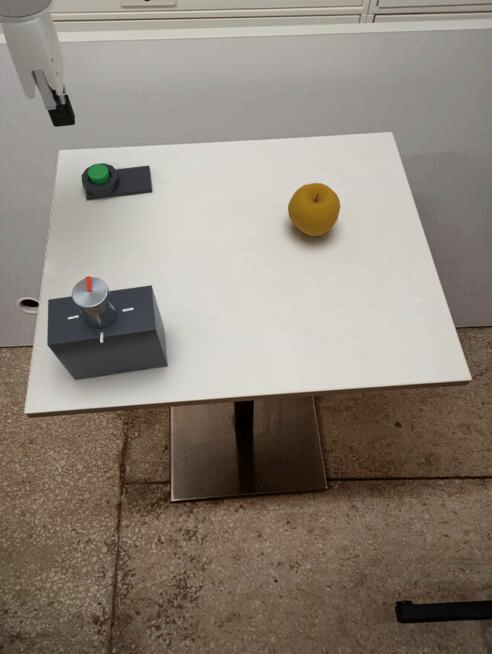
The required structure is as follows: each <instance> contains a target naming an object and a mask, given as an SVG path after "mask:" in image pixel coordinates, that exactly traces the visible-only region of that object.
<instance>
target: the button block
mask: <svg viewBox="0 0 492 654" xmlns="http://www.w3.org/2000/svg"><path fill="white" fill-rule="evenodd" d="M97 164H98V163H93V164H92V165H90V166H88V167H86V168H85V170H84V171H83V172H82V174H81V185H82V187H83V189H84V190H85V199H86V201H91V200H92V201H93V200H98V199H99V200H101V199H108V198H115V197H123V196H124V197H125V196H131V195H133V196H134V195H141V194H148V193H149V194H150V193H153V185H152V174H151V167H150V164H148V165H139V166H133V167H132V166H131V167H124V168H115V166H113V165H112V164H108V163H104V162H103V163H102V162H101V163H99V164H101V165H104V166H106V167H107V169H108V171H109V175H110V179H109V181H108V182H106V183H105V184H102V185H95V184H93V183H92V182H91V181H90V178H89V175H88V170H89V169H90V168H91V167H92V166H94V165H97Z"/></svg>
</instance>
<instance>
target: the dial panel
mask: <svg viewBox="0 0 492 654" xmlns="http://www.w3.org/2000/svg"><path fill="white" fill-rule="evenodd" d="M109 291H110V293H111V296H112V298H113V300H114V303H115V305H116V307H117V317H116V319H115V320H114V322H113V323H112V324H110V325H109V326H107V327H104V328H94V327H91V326H89V325H88V324H87V323H86V321H85V320H84V318H83V316H82V314H81V313H80V311H79V309H78V307H77V306H76V304H75V302H74V300H73V298H72V295H71V296H64V297H56V298H49V299H48V300H47V333H46V334H47V339H46V340H47V341H46V345H47V346H48V348H49V350H50V351H51V352H52V353H53V355H54V356H55V357H56V358H57V360H58V361H59V362H60V363H61V364H62V366H63V367H64V369H65V370H66V371H67V372H68V373H69V375H70V376H71V377H72V378H73V380H74V381H78V380H84V379H91V378H99V377H104V376H112V375H117V374H124V373H125V374H126V373H130V372H136V371H144V370H151V369H157V368H163V367H164V368H165V367H168V366H169V364H168V354H167V353H168V352H167V344H166V335H165V333H166V332H165V326H164V321H163V319H162V316H161V312H160V308H159V306H158V302H157V298H156V296H155V293H154V292H155V291H154V289H153V285H152V284H151V285H143V286H135V287H129V288H121V289H114V290H109Z"/></svg>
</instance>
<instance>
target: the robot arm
mask: <svg viewBox="0 0 492 654" xmlns="http://www.w3.org/2000/svg"><path fill="white" fill-rule="evenodd" d="M54 5H55V0H0V25H1V29H2V32H3V36H4V39H5V43H6V46H7V49H8V52H9V55H10V57H11V60H12V64H13V66H14V69H15V71H16V74H17V77H18V80H19V82H20V85H21V88H22V91H23V93H24V96H25V97H26V98H27V99H28V100H32V99H35V98H36V87H37V89H38V92H39V93H40V96H41V99H42V101H43V105H44V108H45V111H47V112H48V115H49V118H50V120H51V123H52V126H53V127H55V128H60V127H70V126H74V125H76V115H75V112H74V108H73V106H72V103H71V100H70V97H69V94H68V93H67V90H66V89H67V88H66V86H65V83H64V57H63V56H64V55H63V51H62V46H61V43H60V38H59V36H58V33H57V29H56V27H55V23H54V20H53V17H52V14H51V12H50V11H51V9H52V8H53V7H54Z"/></svg>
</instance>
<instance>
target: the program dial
mask: <svg viewBox="0 0 492 654" xmlns="http://www.w3.org/2000/svg"><path fill="white" fill-rule="evenodd" d="M110 291H111V290H109V287H108V285H107V282H105V281H104V279H101V278H99V277H96V276H95V277H94V276H93V277H91V276H90V275H87V276H85V277H84V278H82V279H81V280H79V281H78V282H77V283H75V285H74V286H73V288H72V290H71V296H72V298H73V300H74V302H75V304H76V306H77V307H78V309H79V311H80V313H81V314H82V316H83V318H84V320H85V321H86V323H87V324H88V325H89V326H91V327H94V328H104V327H107V326H109V325H110V324H112V323H113V322H114V320H115V319H116V317H117V307H116V305H115V303H114V300H113V298H112V296H111V293H110Z"/></svg>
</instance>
